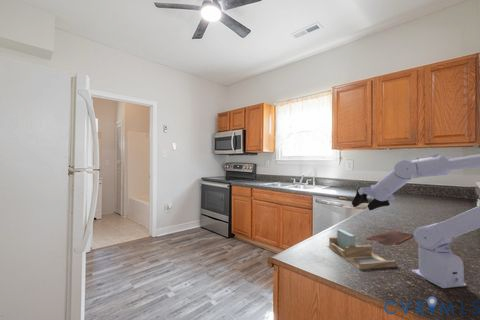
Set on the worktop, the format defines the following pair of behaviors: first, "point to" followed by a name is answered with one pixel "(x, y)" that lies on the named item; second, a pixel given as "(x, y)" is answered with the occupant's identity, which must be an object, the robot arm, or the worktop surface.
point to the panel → (345, 239)
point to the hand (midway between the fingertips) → (361, 206)
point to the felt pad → (366, 260)
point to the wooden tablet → (390, 237)
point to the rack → (360, 255)
